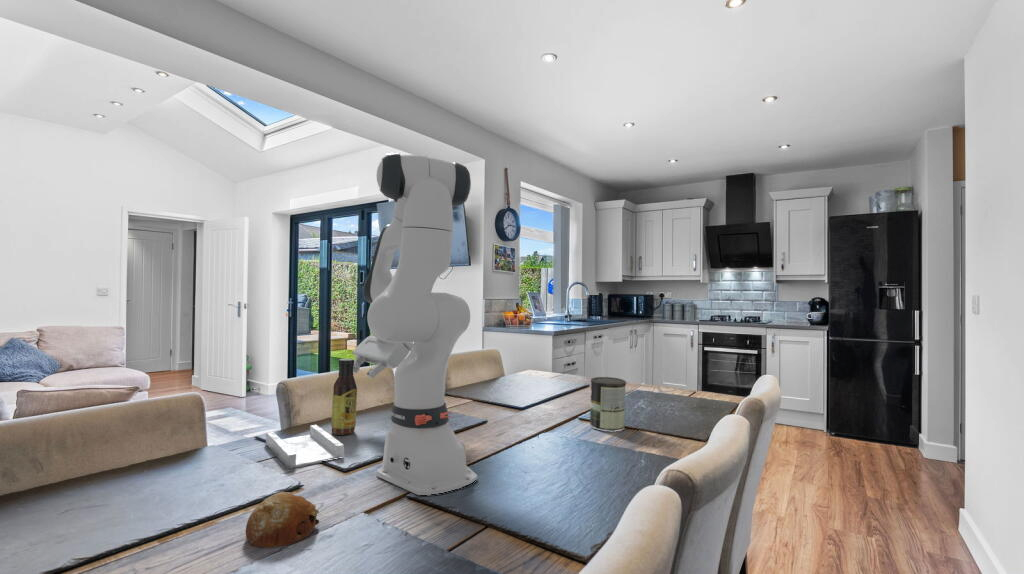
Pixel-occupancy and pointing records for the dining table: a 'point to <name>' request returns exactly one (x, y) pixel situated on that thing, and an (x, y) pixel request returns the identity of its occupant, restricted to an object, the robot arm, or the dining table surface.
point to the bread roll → (281, 520)
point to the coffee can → (607, 403)
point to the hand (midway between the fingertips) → (360, 373)
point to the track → (305, 448)
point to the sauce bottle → (344, 400)
